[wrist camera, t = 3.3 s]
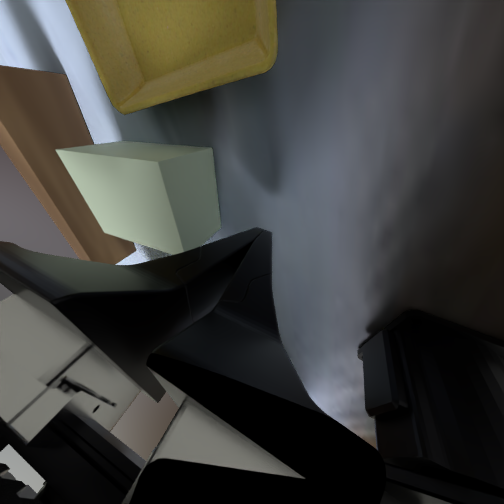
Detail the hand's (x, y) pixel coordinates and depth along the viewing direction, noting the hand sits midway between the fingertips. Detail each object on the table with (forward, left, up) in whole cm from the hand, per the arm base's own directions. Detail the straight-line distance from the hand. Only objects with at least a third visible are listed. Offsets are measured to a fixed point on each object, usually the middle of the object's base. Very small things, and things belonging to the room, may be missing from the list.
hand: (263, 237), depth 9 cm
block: (+8, 0, -2) cm, 8 cm away
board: (+16, +2, -2) cm, 16 cm away
